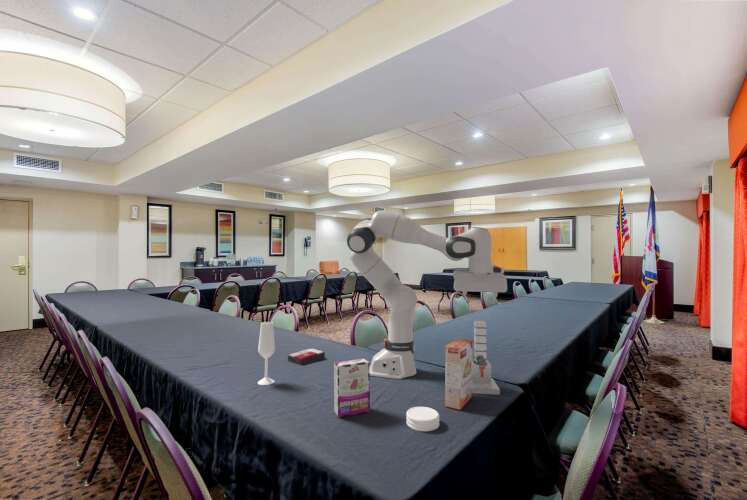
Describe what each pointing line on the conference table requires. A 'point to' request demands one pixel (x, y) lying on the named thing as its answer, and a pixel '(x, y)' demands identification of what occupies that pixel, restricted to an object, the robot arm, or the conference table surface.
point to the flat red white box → (306, 356)
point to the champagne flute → (266, 348)
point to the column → (479, 341)
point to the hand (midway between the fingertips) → (479, 303)
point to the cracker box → (458, 373)
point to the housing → (483, 378)
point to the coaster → (422, 418)
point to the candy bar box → (351, 387)
